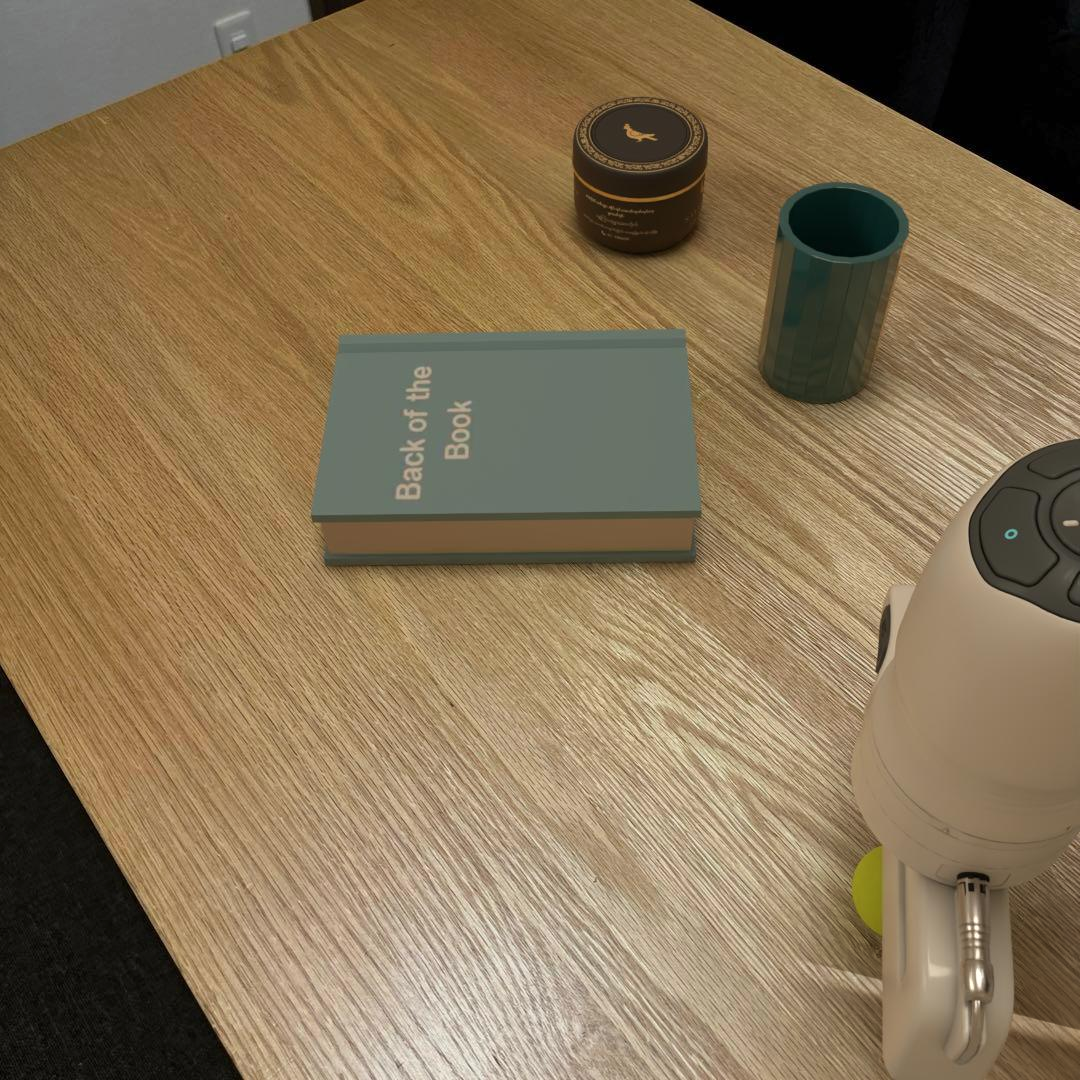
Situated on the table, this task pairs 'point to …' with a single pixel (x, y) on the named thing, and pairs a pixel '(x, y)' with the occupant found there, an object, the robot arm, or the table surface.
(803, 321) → the tube
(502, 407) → the book
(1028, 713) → the robot arm
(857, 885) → the ball
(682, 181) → the jar
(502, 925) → the table surface
